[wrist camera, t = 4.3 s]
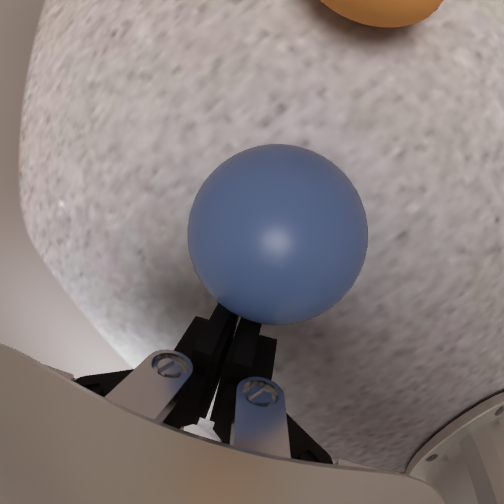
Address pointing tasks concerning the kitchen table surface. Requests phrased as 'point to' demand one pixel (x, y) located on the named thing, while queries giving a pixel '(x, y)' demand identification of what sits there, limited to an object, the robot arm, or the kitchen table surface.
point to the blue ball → (277, 234)
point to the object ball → (384, 11)
